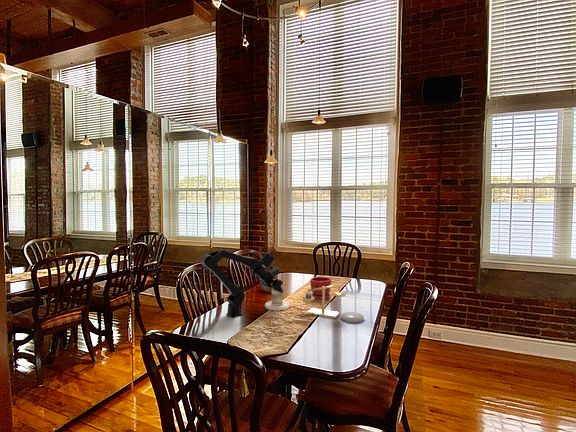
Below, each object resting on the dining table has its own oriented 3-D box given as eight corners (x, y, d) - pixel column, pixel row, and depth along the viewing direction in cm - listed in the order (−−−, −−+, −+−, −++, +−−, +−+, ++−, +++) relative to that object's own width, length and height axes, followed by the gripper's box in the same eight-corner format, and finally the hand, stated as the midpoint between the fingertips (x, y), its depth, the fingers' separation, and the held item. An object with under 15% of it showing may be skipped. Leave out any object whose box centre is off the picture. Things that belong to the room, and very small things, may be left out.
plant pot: (330, 294, 228) (330, 276, 227) (331, 300, 215) (331, 281, 214) (310, 293, 229) (310, 275, 229) (309, 299, 216) (310, 280, 216)
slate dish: (355, 324, 176) (355, 321, 176) (335, 318, 185) (335, 315, 185) (368, 318, 185) (368, 316, 185) (349, 313, 193) (349, 310, 193)
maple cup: (281, 306, 198) (280, 283, 197) (269, 305, 200) (269, 283, 199) (284, 302, 205) (283, 280, 204) (273, 301, 206) (272, 280, 205)
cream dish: (276, 312, 193) (276, 310, 193) (260, 306, 203) (260, 304, 202) (294, 307, 203) (294, 304, 202) (277, 301, 212) (277, 299, 212)
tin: (260, 290, 236) (260, 278, 236) (263, 289, 239) (263, 277, 239) (280, 293, 229) (280, 280, 229) (282, 292, 232) (282, 279, 232)
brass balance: (300, 312, 193) (300, 281, 192) (304, 308, 199) (305, 279, 198) (343, 319, 183) (344, 287, 182) (346, 315, 190) (347, 284, 188)
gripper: (280, 266, 191) (296, 283, 197) (264, 260, 207) (279, 276, 213) (267, 282, 187) (284, 299, 194) (251, 274, 203) (268, 290, 210)
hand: (279, 290), depth 203 cm, fingers open, 7 cm apart
